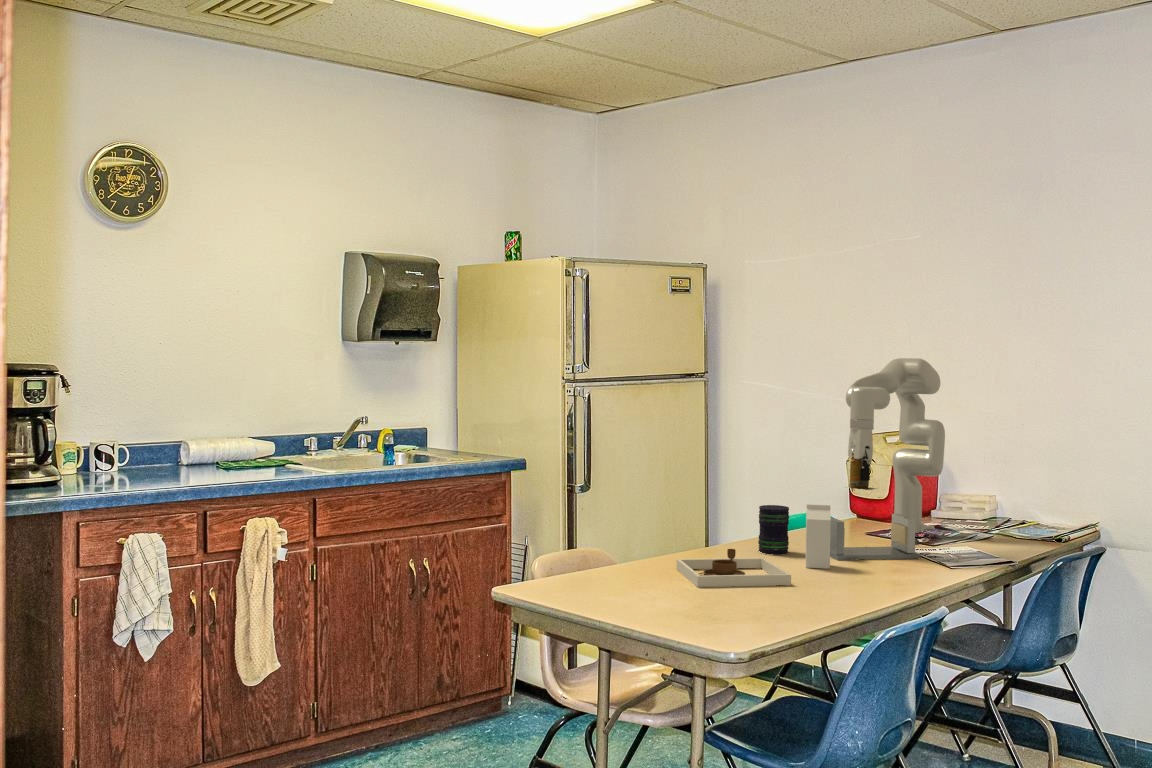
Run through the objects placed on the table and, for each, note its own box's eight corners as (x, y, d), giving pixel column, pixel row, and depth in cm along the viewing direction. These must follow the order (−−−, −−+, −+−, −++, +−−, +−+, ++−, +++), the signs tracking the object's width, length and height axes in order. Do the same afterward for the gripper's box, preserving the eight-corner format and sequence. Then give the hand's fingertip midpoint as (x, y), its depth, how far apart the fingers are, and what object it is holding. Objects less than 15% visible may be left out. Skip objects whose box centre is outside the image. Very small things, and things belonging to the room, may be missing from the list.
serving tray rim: (763, 567, 322) (763, 557, 322) (791, 585, 297) (791, 574, 297) (676, 569, 318) (676, 559, 318) (697, 587, 294) (697, 576, 294)
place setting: (686, 576, 307) (687, 556, 307) (728, 567, 321) (729, 548, 321) (735, 586, 294) (735, 565, 294) (777, 576, 308) (777, 556, 308)
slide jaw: (909, 545, 352) (910, 513, 352) (926, 552, 341) (927, 519, 340) (889, 546, 351) (890, 513, 351) (905, 552, 340) (906, 519, 339)
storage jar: (794, 554, 345) (795, 508, 345) (768, 555, 342) (769, 509, 341) (777, 548, 354) (778, 504, 354) (752, 550, 351) (753, 505, 350)
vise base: (901, 550, 353) (901, 515, 353) (920, 558, 339) (921, 521, 339) (821, 552, 349) (821, 515, 349) (837, 560, 335) (837, 522, 335)
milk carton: (829, 569, 321) (830, 506, 320) (805, 568, 322) (806, 506, 322) (828, 564, 328) (830, 503, 327) (805, 563, 329) (806, 502, 329)
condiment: (857, 486, 354) (858, 450, 353) (878, 489, 347) (879, 452, 347) (843, 487, 349) (844, 451, 349) (864, 490, 342) (865, 453, 342)
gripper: (841, 423, 357) (839, 476, 357) (861, 426, 339) (859, 482, 340) (862, 423, 358) (861, 476, 358) (883, 426, 340) (882, 482, 341)
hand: (860, 478), depth 349 cm, fingers closed on condiment, 6 cm apart
